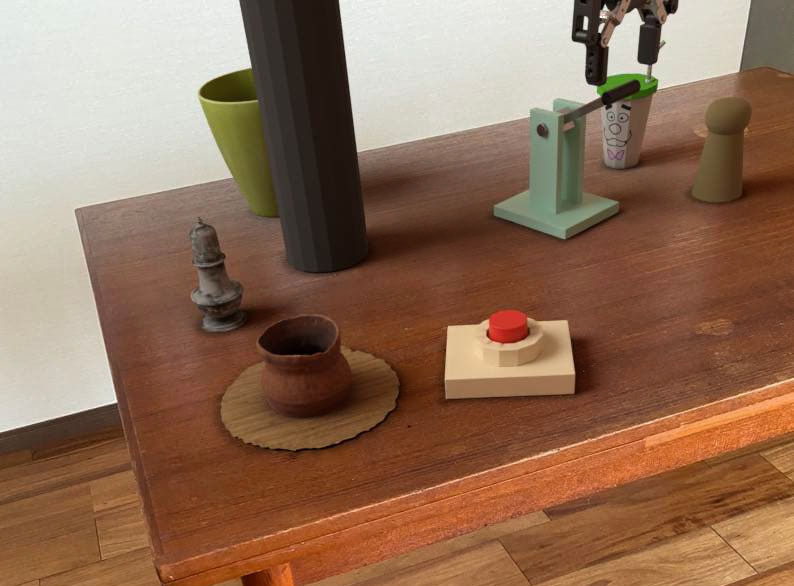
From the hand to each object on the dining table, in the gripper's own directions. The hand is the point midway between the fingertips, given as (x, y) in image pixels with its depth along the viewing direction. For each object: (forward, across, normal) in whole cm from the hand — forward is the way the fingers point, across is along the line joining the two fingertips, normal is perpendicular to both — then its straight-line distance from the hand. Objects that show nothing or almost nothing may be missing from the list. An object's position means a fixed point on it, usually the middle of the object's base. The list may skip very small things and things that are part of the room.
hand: (622, 73), depth 95 cm
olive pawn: (+18, +17, -3) cm, 25 cm away
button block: (+18, -30, -12) cm, 37 cm away
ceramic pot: (+18, -46, -1) cm, 50 cm away
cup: (+18, +18, +13) cm, 28 cm away
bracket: (+18, 0, +9) cm, 20 cm away
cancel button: (+14, -30, -12) cm, 35 cm away
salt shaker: (+18, -44, +19) cm, 51 cm away
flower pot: (+18, -21, +41) cm, 49 cm away
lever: (+5, 0, +4) cm, 7 cm away
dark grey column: (+18, -26, +23) cm, 39 cm away
